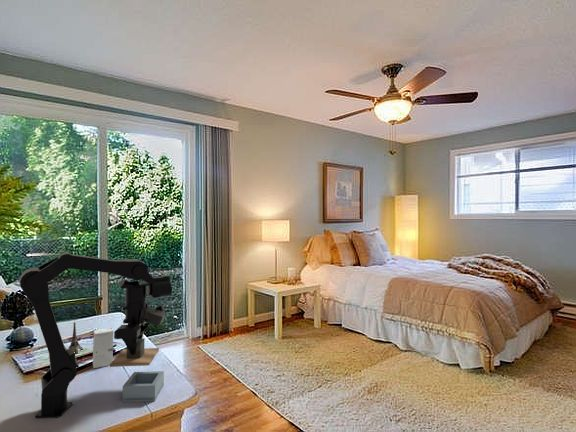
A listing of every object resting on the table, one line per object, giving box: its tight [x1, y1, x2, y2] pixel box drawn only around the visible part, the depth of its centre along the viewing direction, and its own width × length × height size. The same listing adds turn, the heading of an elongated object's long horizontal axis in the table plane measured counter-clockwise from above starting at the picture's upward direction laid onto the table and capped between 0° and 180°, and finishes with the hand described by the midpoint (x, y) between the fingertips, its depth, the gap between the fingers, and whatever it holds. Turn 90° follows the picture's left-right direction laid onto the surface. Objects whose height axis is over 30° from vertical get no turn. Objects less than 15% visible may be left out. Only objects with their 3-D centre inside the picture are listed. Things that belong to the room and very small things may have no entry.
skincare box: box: [92, 327, 114, 369], centre depth 123 cm, size 6×4×12 cm
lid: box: [109, 338, 160, 368], centre depth 107 cm, size 11×11×5 cm
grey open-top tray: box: [122, 371, 165, 403], centre depth 104 cm, size 9×9×4 cm
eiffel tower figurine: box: [68, 319, 84, 354], centre depth 133 cm, size 15×10×13 cm
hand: (135, 351), depth 107 cm, fingers closed on lid, 4 cm apart
